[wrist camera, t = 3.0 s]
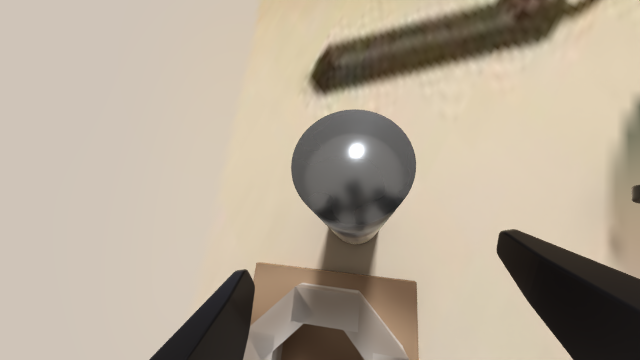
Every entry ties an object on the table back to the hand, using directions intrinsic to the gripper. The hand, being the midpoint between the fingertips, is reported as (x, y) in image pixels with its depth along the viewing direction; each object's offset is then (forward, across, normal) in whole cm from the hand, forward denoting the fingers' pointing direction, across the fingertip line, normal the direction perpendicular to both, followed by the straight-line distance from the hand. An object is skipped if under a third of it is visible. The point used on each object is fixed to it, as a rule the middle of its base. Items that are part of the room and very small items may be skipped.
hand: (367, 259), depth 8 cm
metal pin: (+9, 0, +5) cm, 11 cm away
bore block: (+2, +4, +12) cm, 13 cm away
